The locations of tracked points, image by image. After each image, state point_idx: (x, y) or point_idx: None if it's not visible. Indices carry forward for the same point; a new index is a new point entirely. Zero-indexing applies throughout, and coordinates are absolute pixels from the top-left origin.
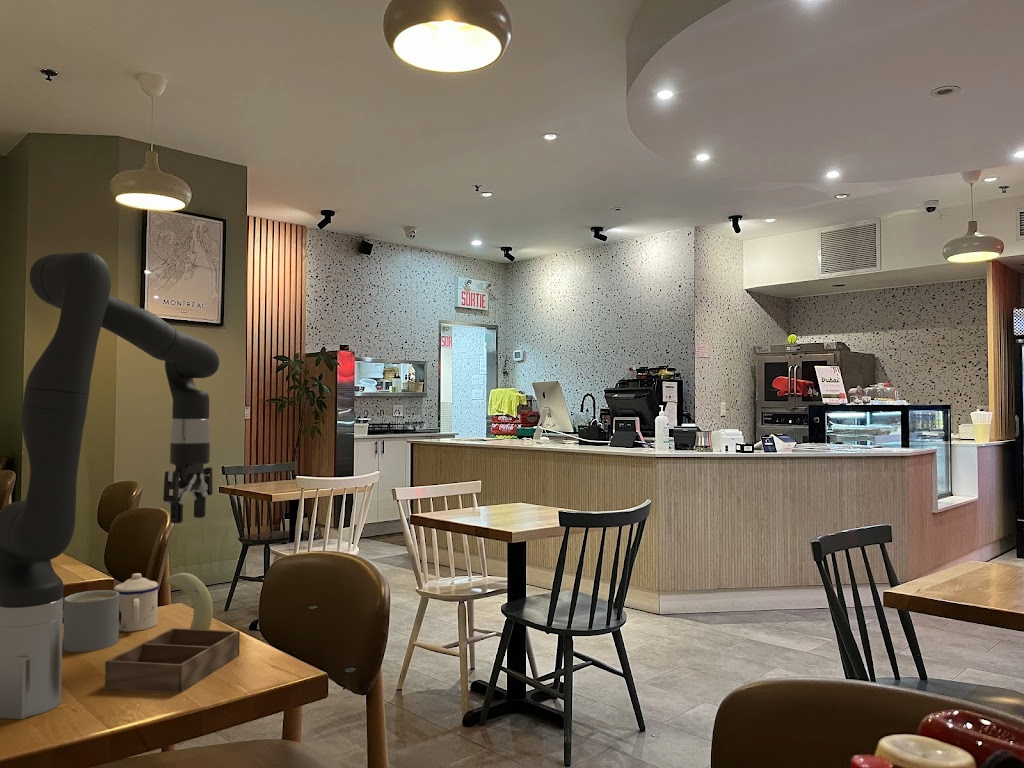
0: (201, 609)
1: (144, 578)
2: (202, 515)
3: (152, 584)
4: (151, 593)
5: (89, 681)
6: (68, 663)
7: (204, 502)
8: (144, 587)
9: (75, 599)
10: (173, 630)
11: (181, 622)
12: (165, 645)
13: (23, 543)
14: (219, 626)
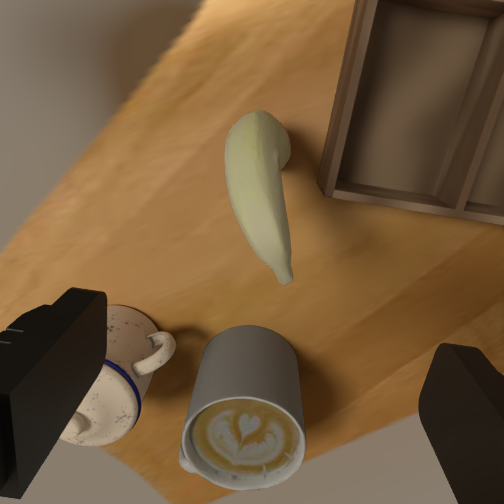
0: (280, 138)
1: None
2: (97, 304)
3: None
4: None
5: (477, 272)
6: (361, 354)
7: (14, 369)
8: (108, 376)
9: (229, 472)
10: (333, 188)
11: (76, 260)
12: (485, 148)
13: None
14: (94, 153)
